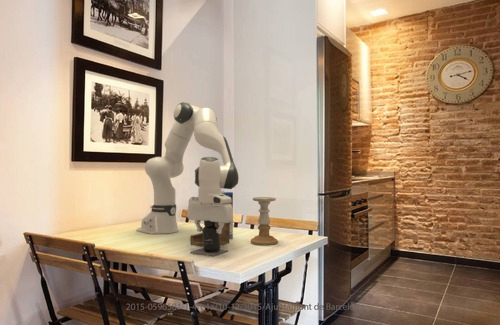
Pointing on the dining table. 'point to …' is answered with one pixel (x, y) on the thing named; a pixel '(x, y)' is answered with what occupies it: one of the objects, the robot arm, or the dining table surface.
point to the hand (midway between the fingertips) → (209, 232)
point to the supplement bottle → (210, 237)
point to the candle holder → (264, 223)
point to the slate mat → (212, 253)
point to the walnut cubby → (224, 236)
